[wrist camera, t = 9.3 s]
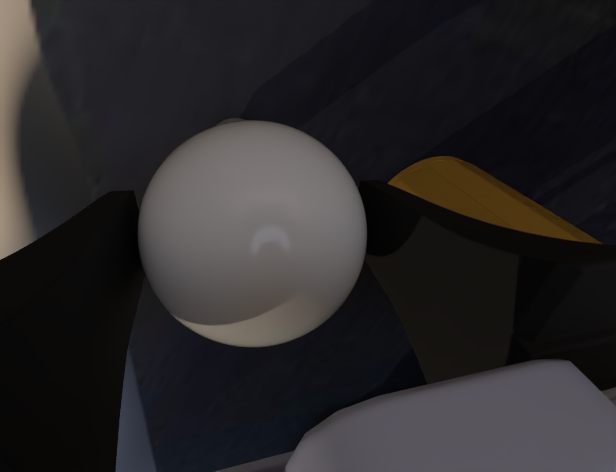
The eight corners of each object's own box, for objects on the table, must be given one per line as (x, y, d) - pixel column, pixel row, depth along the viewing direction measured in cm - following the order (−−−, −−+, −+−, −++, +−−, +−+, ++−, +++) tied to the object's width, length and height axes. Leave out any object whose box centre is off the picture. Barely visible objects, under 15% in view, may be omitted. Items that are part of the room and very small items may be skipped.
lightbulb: (180, 42, 13) (145, 132, 4) (319, 101, 16) (463, 227, 7) (152, 182, 16) (96, 400, 7) (273, 211, 19) (337, 396, 10)
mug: (367, 170, 19) (469, 274, 12) (492, 144, 20) (651, 223, 13) (363, 299, 25) (427, 415, 18) (458, 273, 27) (551, 372, 20)
